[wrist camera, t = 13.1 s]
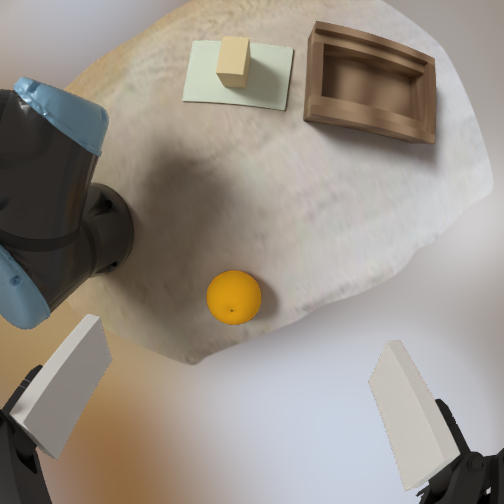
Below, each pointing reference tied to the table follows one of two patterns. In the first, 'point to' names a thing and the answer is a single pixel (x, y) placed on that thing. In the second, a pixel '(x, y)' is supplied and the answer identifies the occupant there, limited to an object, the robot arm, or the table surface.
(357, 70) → the case
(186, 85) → the lid
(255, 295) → the orange
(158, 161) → the table surface
